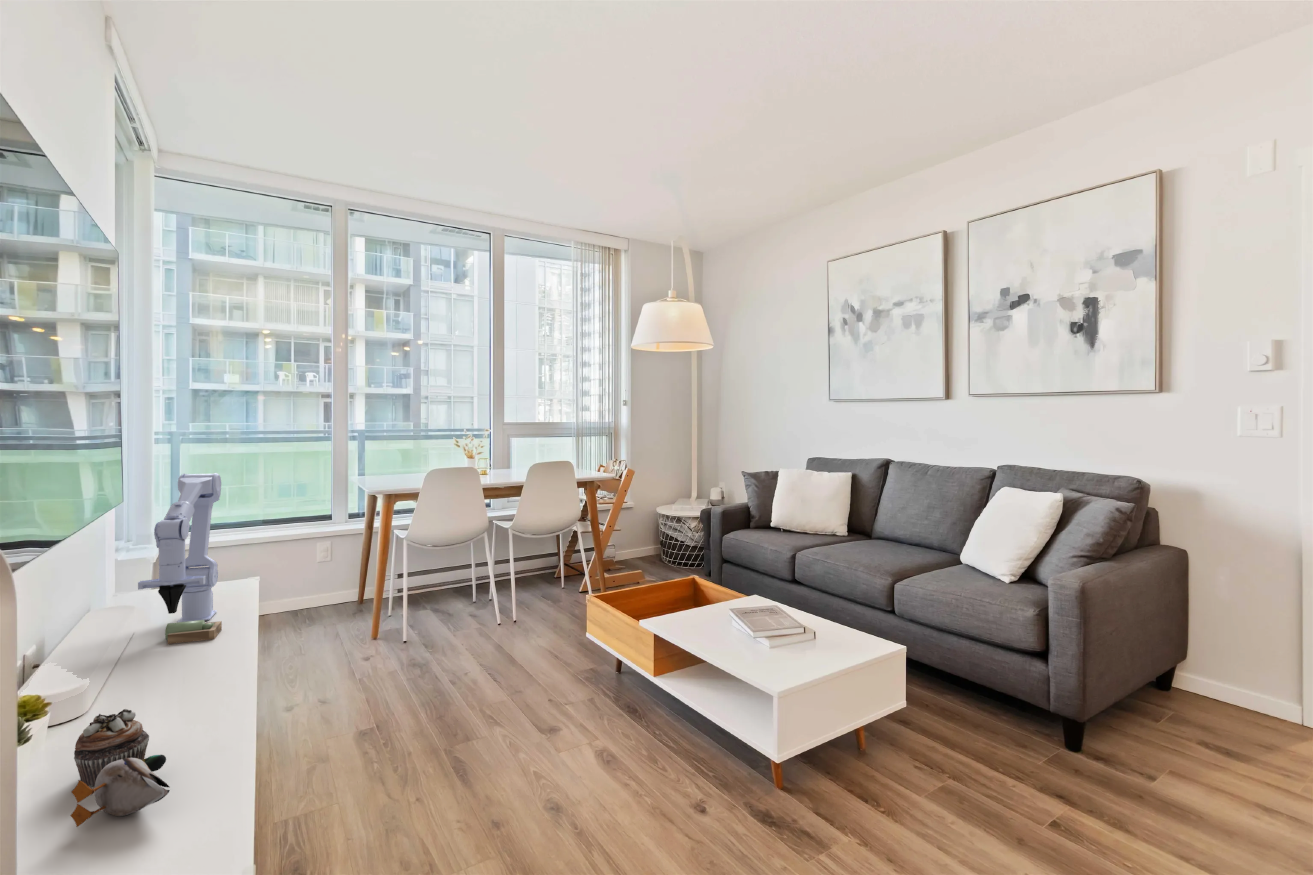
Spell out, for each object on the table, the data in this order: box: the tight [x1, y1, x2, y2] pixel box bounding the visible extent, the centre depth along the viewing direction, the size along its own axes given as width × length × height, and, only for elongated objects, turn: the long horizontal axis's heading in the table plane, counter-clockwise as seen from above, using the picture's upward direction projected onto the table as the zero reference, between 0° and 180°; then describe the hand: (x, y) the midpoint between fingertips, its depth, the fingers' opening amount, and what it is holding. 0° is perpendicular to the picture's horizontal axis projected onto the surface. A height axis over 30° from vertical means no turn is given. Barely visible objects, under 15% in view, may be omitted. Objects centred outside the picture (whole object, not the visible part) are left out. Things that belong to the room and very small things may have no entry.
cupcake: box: [73, 708, 150, 788], centre depth 104 cm, size 10×10×10 cm
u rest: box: [167, 620, 223, 645], centre depth 171 cm, size 8×10×2 cm
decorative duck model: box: [69, 754, 171, 828], centre depth 97 cm, size 15×8×15 cm
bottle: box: [164, 620, 214, 641], centre depth 171 cm, size 4×4×10 cm
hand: (172, 612), depth 168 cm, fingers closed
